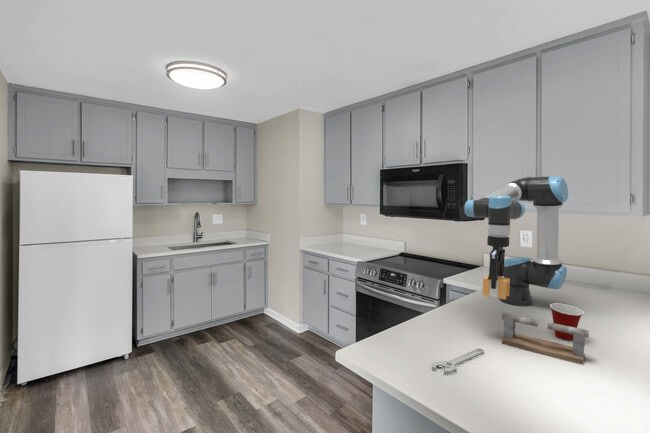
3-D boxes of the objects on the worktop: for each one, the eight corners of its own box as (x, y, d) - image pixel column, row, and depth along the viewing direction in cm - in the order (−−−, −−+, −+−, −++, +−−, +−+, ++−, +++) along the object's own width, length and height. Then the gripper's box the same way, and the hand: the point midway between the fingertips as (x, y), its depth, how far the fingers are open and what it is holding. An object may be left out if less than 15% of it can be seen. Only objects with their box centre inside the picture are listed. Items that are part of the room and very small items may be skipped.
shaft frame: (504, 334, 132) (505, 309, 131) (587, 354, 115) (589, 326, 115) (498, 343, 124) (500, 316, 123) (587, 365, 107) (588, 335, 107)
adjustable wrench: (478, 351, 118) (478, 347, 118) (495, 359, 112) (495, 354, 112) (428, 368, 106) (428, 363, 106) (444, 378, 100) (444, 372, 100)
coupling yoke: (486, 291, 133) (487, 275, 133) (509, 295, 128) (509, 278, 128) (482, 295, 128) (483, 278, 128) (505, 299, 123) (506, 281, 123)
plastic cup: (567, 345, 122) (569, 313, 121) (541, 333, 133) (543, 304, 132) (589, 342, 125) (591, 311, 124) (562, 330, 136) (563, 302, 135)
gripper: (494, 232, 136) (491, 287, 138) (480, 237, 122) (478, 298, 123) (514, 234, 132) (512, 290, 133) (503, 239, 117) (500, 302, 118)
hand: (495, 294), depth 128 cm, fingers closed on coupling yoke, 6 cm apart
